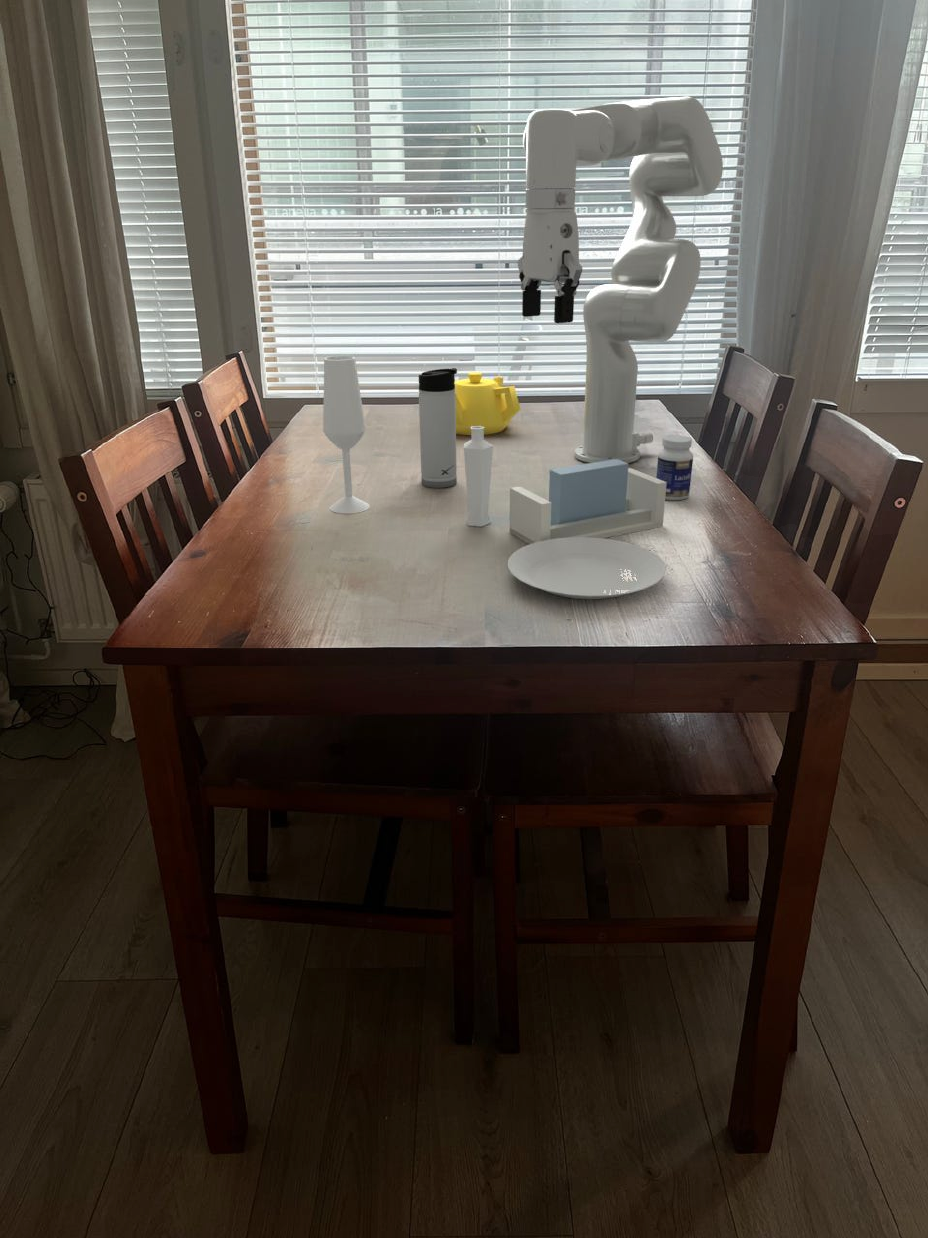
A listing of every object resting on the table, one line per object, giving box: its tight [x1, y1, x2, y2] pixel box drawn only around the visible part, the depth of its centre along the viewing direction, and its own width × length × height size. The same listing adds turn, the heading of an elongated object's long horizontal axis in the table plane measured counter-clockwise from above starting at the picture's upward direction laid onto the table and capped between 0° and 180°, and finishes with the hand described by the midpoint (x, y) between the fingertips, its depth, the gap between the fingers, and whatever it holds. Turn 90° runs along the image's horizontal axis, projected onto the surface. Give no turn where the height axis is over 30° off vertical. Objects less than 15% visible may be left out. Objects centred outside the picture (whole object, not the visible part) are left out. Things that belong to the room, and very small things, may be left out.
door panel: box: [548, 459, 629, 526], centre depth 137 cm, size 12×3×9 cm, turn 117°
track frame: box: [509, 467, 667, 545], centre depth 138 cm, size 22×9×7 cm, turn 117°
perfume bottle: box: [463, 426, 494, 528], centre depth 140 cm, size 5×4×15 cm
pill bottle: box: [655, 434, 694, 501], centre depth 152 cm, size 6×6×10 cm
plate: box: [507, 537, 667, 600], centre depth 121 cm, size 21×21×2 cm
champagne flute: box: [322, 355, 371, 514], centre depth 145 cm, size 7×7×24 cm
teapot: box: [454, 371, 521, 436], centre depth 197 cm, size 17×17×12 cm
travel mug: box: [418, 367, 458, 489], centre depth 158 cm, size 6×7×20 cm
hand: (547, 319), depth 146 cm, fingers open, 9 cm apart
